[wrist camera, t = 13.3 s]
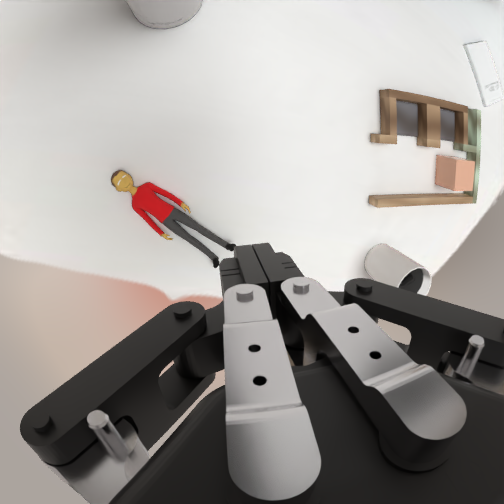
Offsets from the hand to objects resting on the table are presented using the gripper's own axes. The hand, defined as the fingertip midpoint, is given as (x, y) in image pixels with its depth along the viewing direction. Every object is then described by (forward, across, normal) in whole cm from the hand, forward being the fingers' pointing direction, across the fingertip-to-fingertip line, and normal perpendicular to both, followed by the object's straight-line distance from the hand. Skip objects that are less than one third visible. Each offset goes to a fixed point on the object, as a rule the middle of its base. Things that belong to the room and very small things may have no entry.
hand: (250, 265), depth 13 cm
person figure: (+28, +6, +4) cm, 29 cm away
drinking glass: (+27, -25, +15) cm, 40 cm away
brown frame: (+27, -34, -3) cm, 43 cm away
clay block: (+27, -38, 0) cm, 47 cm away
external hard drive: (+28, -51, -21) cm, 61 cm away
